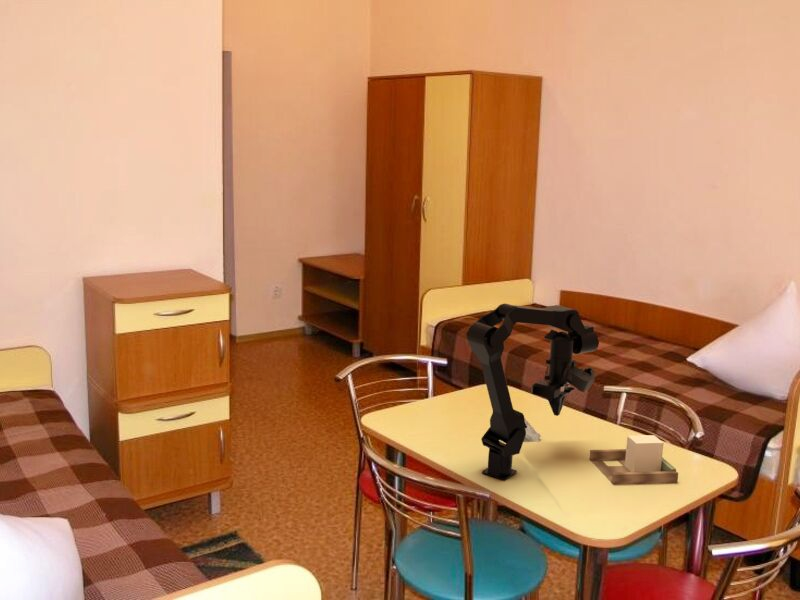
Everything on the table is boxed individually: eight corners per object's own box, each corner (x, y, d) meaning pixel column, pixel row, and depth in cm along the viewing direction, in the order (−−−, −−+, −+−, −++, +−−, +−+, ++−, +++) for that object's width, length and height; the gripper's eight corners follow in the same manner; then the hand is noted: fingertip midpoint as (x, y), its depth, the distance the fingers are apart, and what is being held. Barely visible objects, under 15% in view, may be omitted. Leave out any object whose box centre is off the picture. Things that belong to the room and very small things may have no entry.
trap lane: (612, 490, 184) (614, 472, 183) (589, 464, 199) (590, 448, 198) (676, 488, 186) (678, 471, 185) (648, 463, 201) (650, 446, 200)
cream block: (633, 474, 190) (636, 443, 188) (624, 466, 195) (627, 435, 193) (660, 473, 191) (663, 442, 189) (650, 465, 196) (654, 435, 194)
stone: (541, 432, 221) (542, 418, 220) (539, 447, 209) (540, 432, 209) (519, 430, 223) (519, 416, 222) (515, 444, 211) (515, 430, 210)
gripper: (574, 370, 184) (569, 432, 187) (606, 355, 198) (601, 413, 201) (532, 361, 190) (528, 421, 193) (566, 347, 205) (561, 403, 208)
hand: (556, 415), depth 199 cm, fingers closed
